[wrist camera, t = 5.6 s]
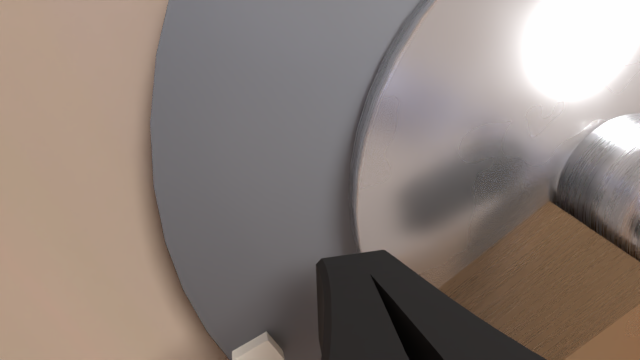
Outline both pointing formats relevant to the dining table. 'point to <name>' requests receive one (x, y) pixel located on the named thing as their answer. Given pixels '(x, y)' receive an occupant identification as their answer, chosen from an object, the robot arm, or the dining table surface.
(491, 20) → the dial
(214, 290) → the dial base
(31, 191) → the dining table surface
